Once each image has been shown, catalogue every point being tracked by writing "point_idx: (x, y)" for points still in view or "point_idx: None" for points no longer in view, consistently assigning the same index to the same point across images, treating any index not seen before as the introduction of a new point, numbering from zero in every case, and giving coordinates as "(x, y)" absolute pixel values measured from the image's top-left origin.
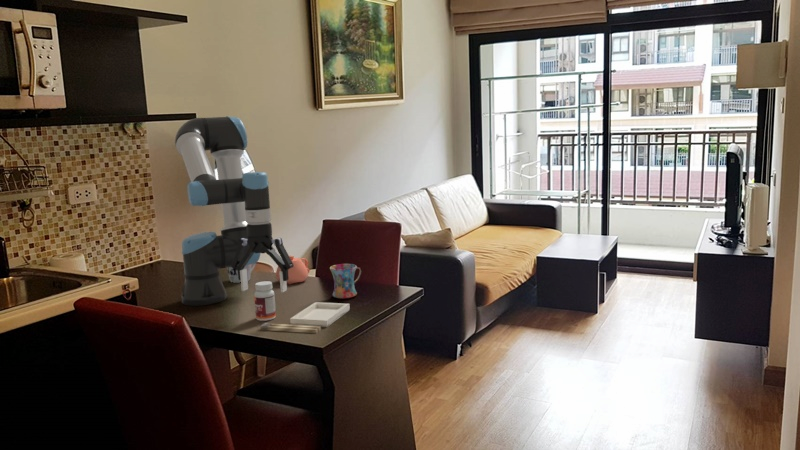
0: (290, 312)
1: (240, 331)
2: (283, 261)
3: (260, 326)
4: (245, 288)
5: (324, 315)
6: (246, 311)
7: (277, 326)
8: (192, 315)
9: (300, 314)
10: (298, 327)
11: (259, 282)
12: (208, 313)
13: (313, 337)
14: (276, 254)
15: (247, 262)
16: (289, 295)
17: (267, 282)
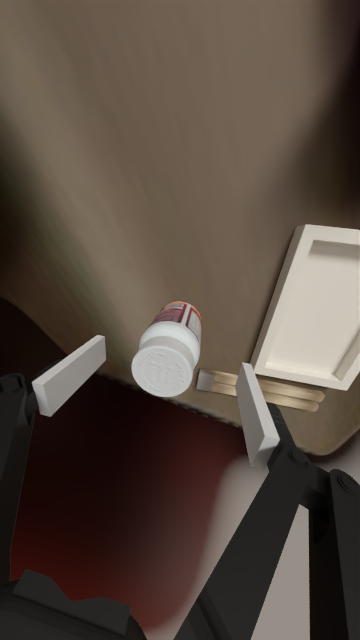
0: (225, 274)
1: None
2: (309, 561)
3: (196, 388)
4: (102, 353)
5: (331, 317)
6: (109, 268)
7: (230, 390)
8: (19, 301)
9: (272, 346)
10: (273, 392)
11: (140, 363)
12: (38, 286)
13: (307, 423)
14: (253, 612)
15: (16, 420)
16: (155, 27)
17: (170, 363)
